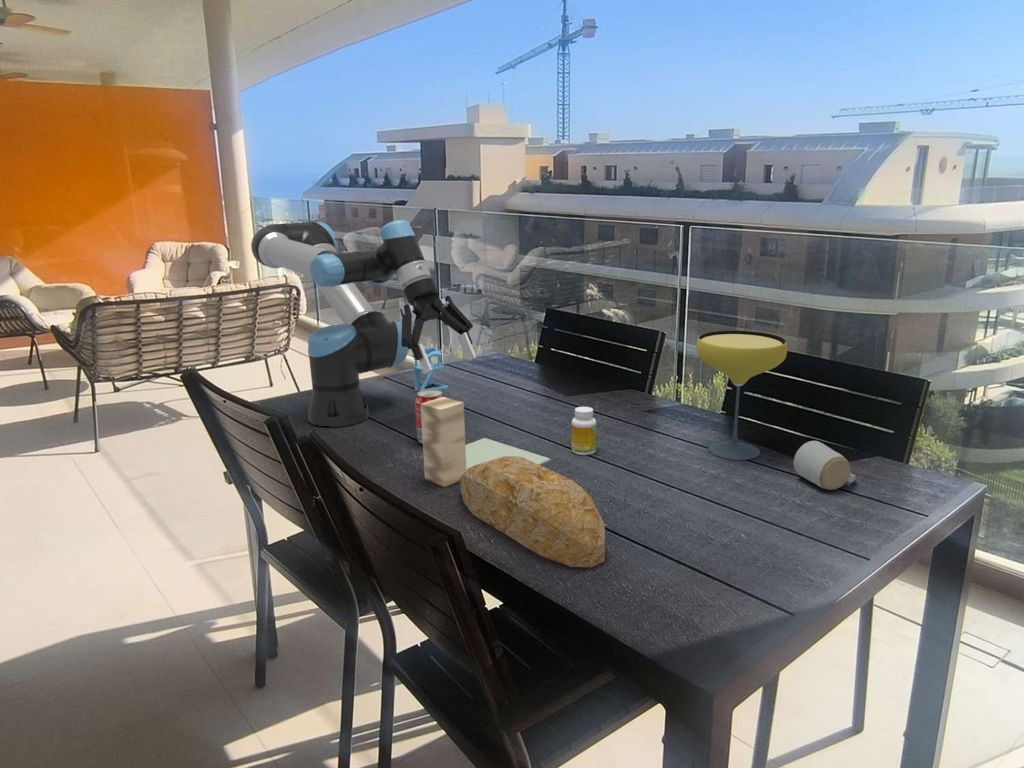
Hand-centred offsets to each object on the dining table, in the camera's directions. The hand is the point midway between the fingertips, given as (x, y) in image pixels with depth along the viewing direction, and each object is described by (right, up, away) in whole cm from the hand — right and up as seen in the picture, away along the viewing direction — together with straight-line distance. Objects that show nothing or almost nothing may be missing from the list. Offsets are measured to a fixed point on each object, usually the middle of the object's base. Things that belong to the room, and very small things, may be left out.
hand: (450, 365), depth 169 cm
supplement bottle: (+30, -19, -11) cm, 38 cm away
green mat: (+10, -21, -15) cm, 27 cm away
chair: (-10, -6, +38) cm, 40 cm away
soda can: (-4, -18, -4) cm, 19 cm away
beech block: (+1, -24, -24) cm, 34 cm away
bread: (+17, -29, -43) cm, 55 cm away
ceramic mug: (+76, -24, -29) cm, 85 cm away
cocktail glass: (+63, -19, -13) cm, 67 cm away
